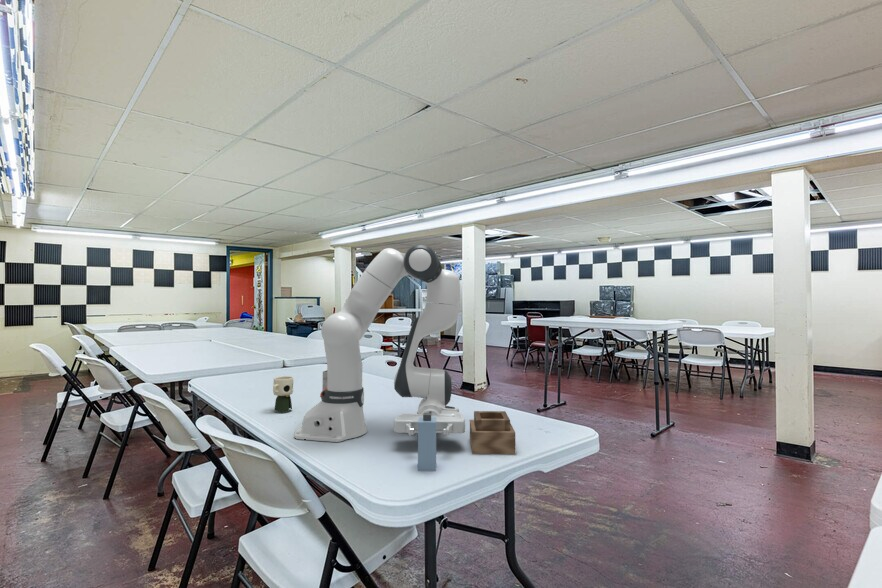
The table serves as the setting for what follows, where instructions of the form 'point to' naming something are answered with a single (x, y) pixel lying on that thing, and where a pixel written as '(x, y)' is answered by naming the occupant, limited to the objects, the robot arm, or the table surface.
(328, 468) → the table surface
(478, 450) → the socket block
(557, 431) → the table surface
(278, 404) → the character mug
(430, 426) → the plug block
